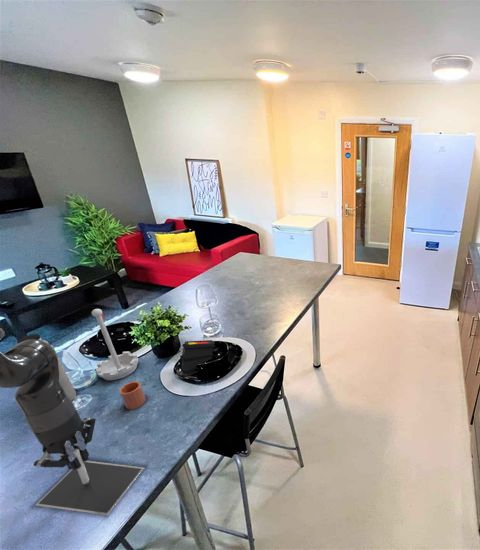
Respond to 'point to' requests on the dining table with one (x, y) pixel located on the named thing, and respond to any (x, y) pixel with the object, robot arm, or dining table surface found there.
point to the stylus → (81, 468)
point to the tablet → (91, 488)
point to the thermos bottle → (62, 374)
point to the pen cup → (132, 395)
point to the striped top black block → (195, 355)
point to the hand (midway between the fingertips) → (80, 463)
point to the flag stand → (114, 356)
